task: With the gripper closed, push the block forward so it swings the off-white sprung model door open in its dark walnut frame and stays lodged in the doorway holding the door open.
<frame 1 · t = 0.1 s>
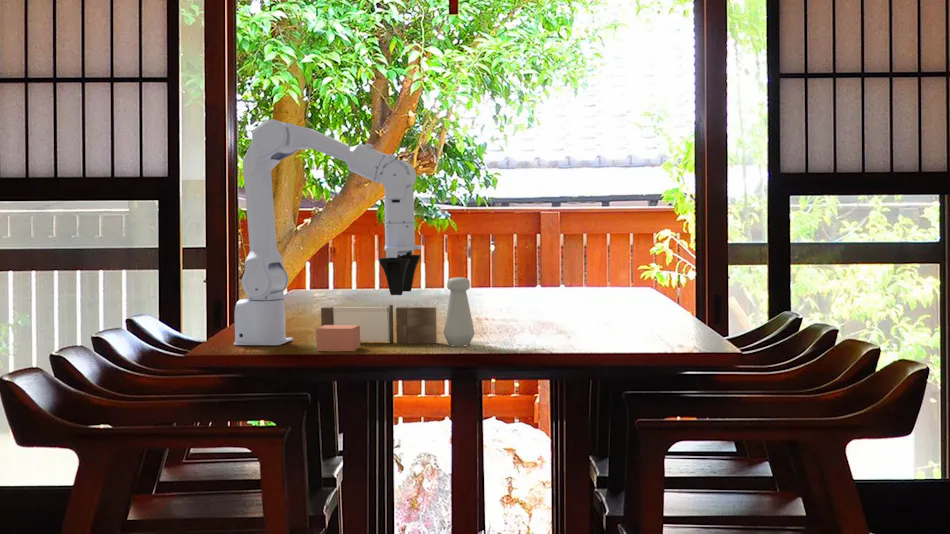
hand: (401, 293, 182), 10 cm above the table, fingers open, 7 cm apart
frame: (362, 342, 186), on the table
block: (338, 350, 177), on the table
door: (361, 324, 186), point 4 cm above the table, hinge at 0.0°
salt shaker: (459, 345, 181), on the table
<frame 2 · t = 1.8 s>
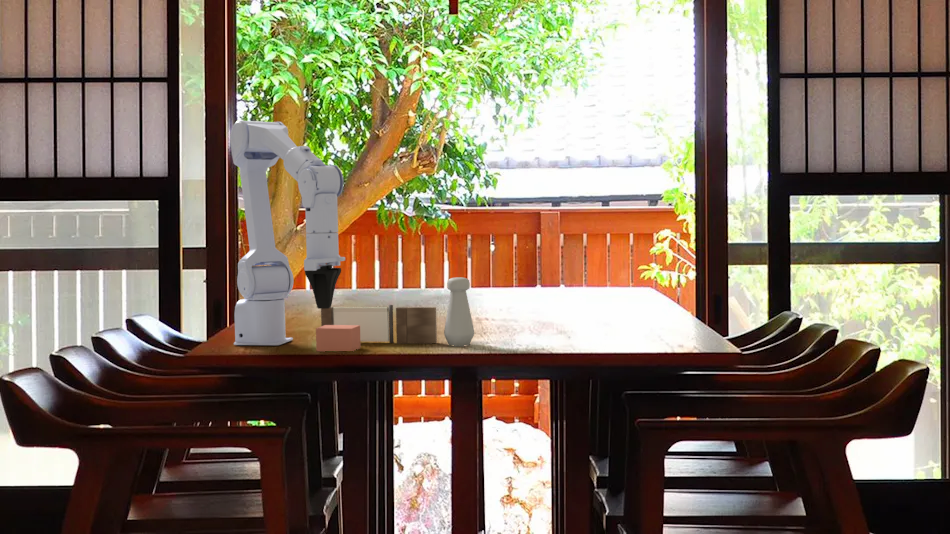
hand: (324, 308, 169), 9 cm above the table, fingers closed
nothing on the table moved.
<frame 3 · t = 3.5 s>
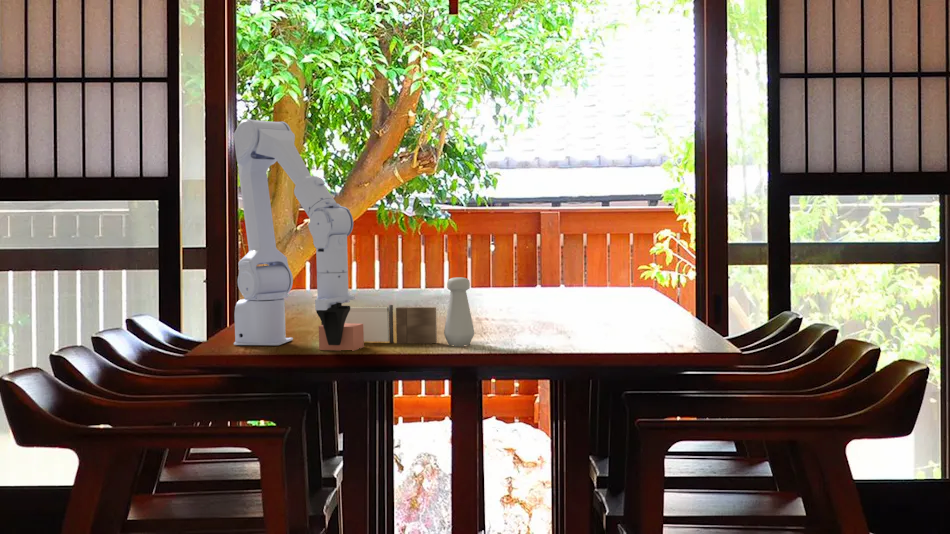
hand: (334, 344, 175), 1 cm above the table, fingers closed
block: (341, 348, 179), on the table, touching gripper
everything else where it was.
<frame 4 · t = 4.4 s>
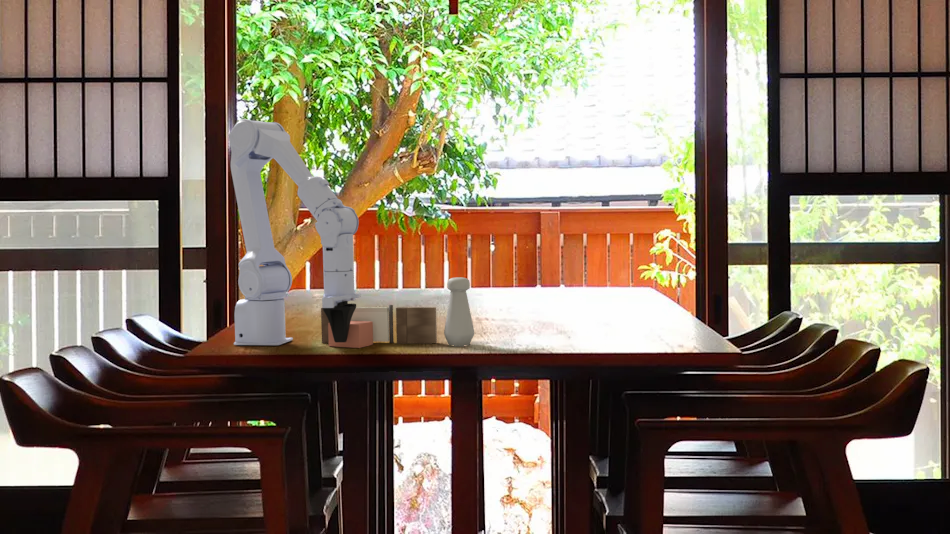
hand: (340, 342, 178), 1 cm above the table, fingers closed
block: (350, 345, 182), on the table, touching door, gripper
door: (361, 324, 186), point 4 cm above the table, hinge at 0.3°, touching block
everything else where it was.
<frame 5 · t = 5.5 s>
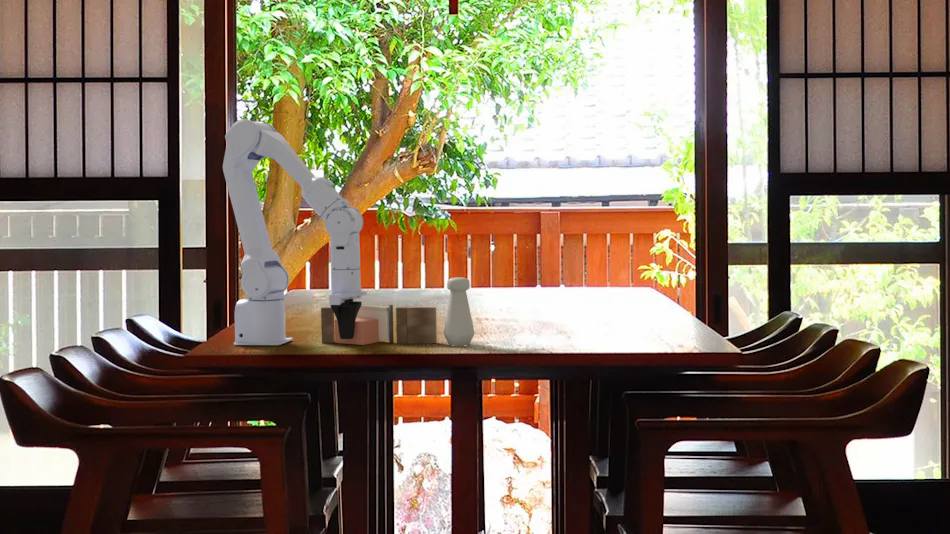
hand: (347, 338, 183), 1 cm above the table, fingers closed, pressing on block
block: (356, 342, 186), on the table, touching door, gripper
door: (369, 322, 188), point 4 cm above the table, hinge at 29.0°, touching block
everything else where it was.
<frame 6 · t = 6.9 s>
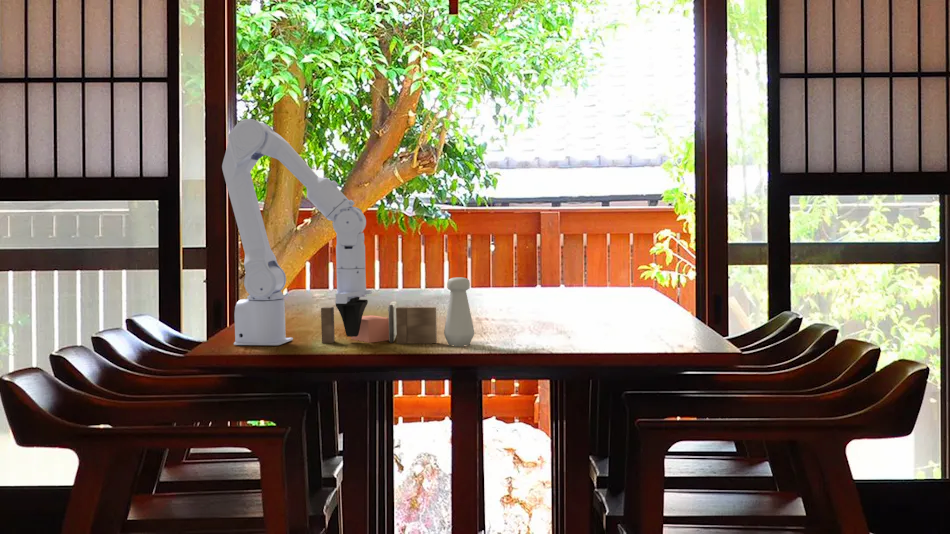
hand: (352, 336, 186), 1 cm above the table, fingers closed
block: (370, 339, 190), on the table, touching door, gripper
door: (392, 320, 191), point 4 cm above the table, hinge at 79.0°, touching block
everything else where it was.
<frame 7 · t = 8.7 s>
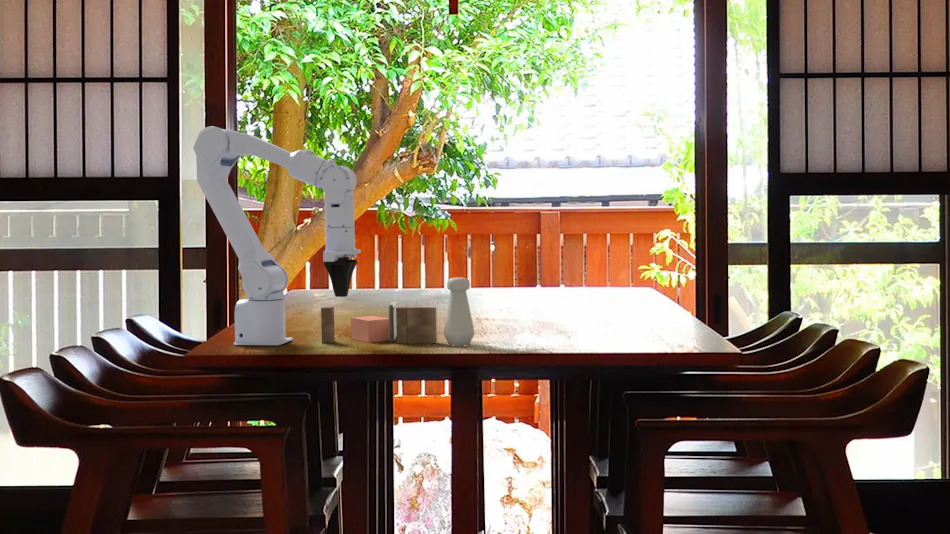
hand: (341, 296, 184), 9 cm above the table, fingers closed
block: (370, 340, 190), on the table
door: (393, 320, 191), point 4 cm above the table, hinge at 79.6°
everything else where it was.
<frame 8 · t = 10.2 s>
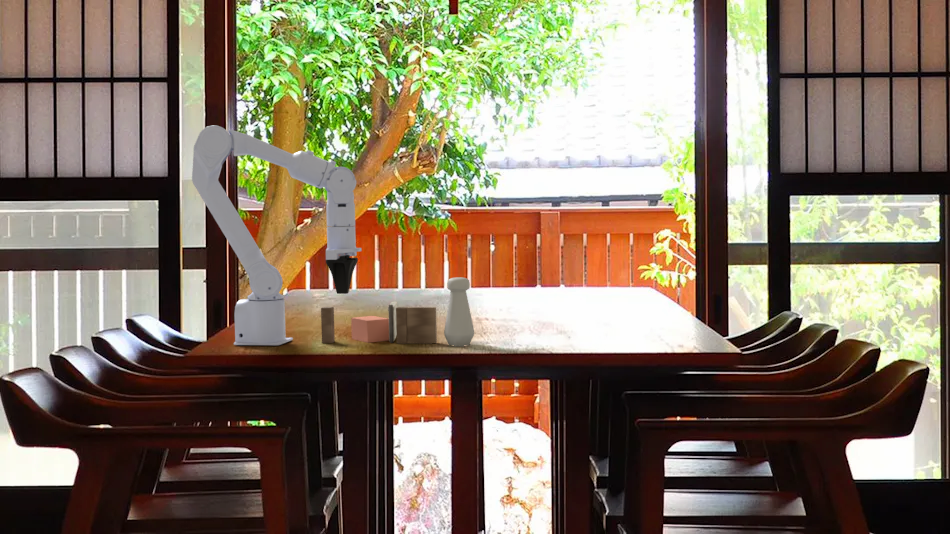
hand: (342, 293, 190), 9 cm above the table, fingers closed
nothing on the table moved.
at the end: door at +80° (first picture: +0°); block inside the target area (2.1 cm from its centre), on the table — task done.
